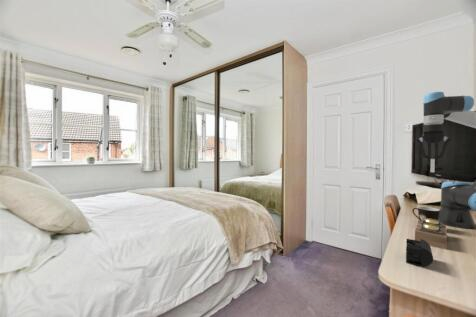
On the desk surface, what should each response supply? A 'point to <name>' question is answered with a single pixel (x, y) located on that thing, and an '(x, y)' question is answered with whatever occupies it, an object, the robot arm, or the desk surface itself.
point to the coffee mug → (426, 213)
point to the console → (432, 235)
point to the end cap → (418, 253)
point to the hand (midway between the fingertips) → (432, 172)
